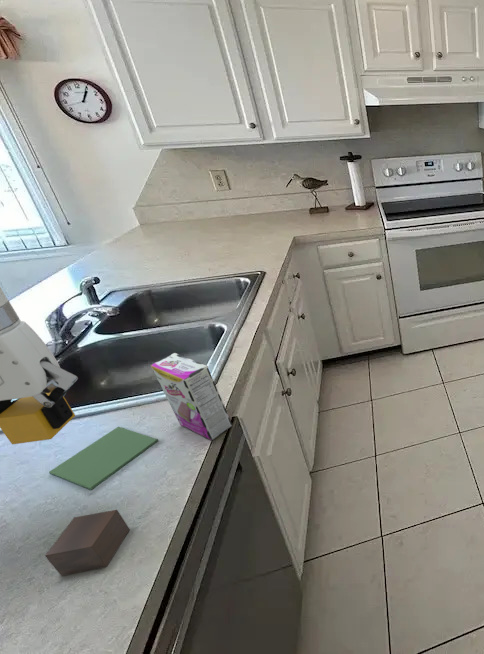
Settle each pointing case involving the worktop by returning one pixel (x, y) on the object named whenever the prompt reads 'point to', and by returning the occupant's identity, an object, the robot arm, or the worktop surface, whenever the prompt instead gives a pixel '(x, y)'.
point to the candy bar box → (192, 395)
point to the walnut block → (88, 542)
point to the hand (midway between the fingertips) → (41, 423)
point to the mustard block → (27, 422)
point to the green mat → (103, 457)
